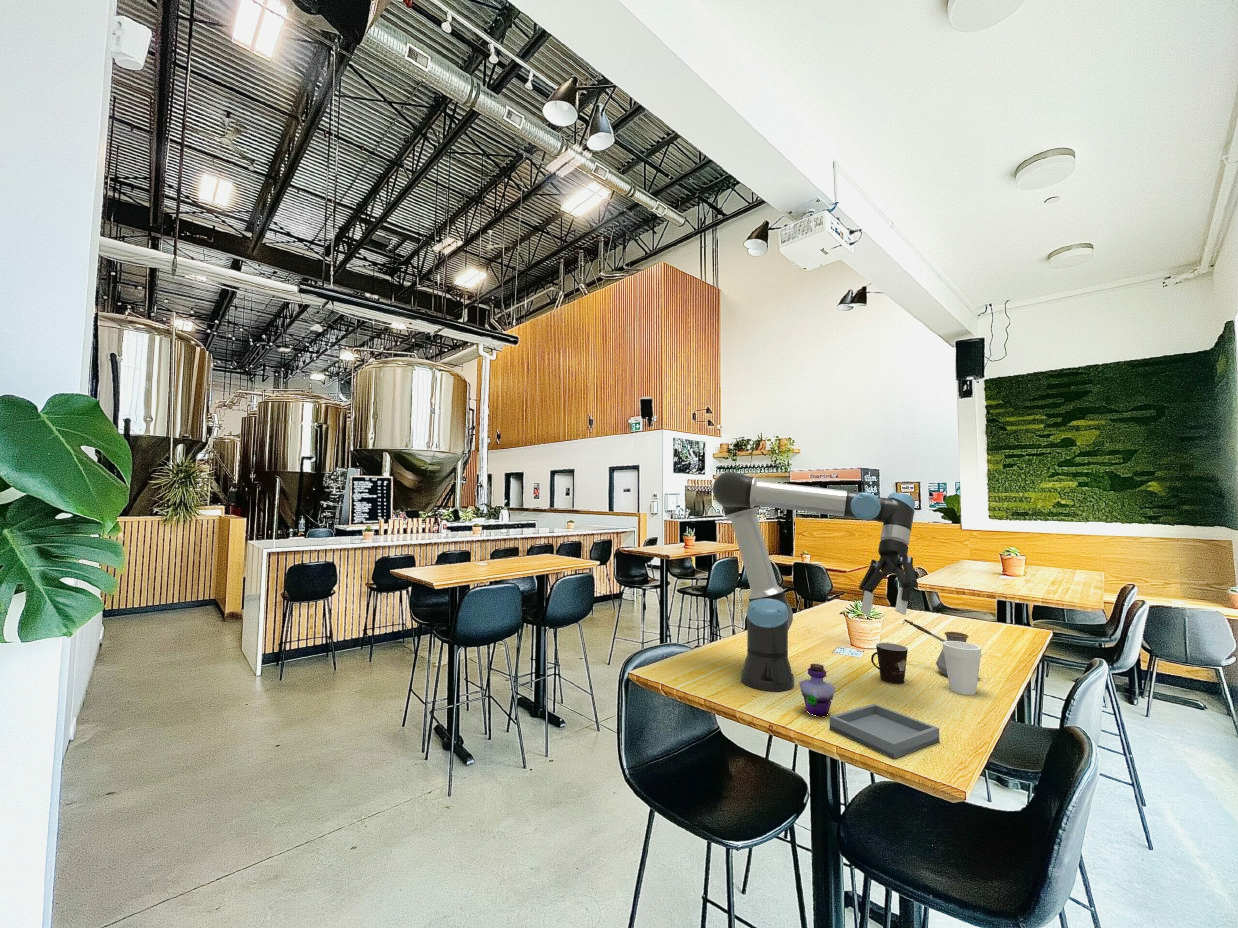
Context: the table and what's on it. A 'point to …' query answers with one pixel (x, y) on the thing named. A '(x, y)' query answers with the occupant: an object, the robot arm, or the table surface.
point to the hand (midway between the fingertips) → (882, 613)
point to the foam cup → (962, 666)
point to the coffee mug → (891, 662)
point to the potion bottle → (817, 691)
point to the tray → (884, 730)
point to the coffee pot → (950, 637)
